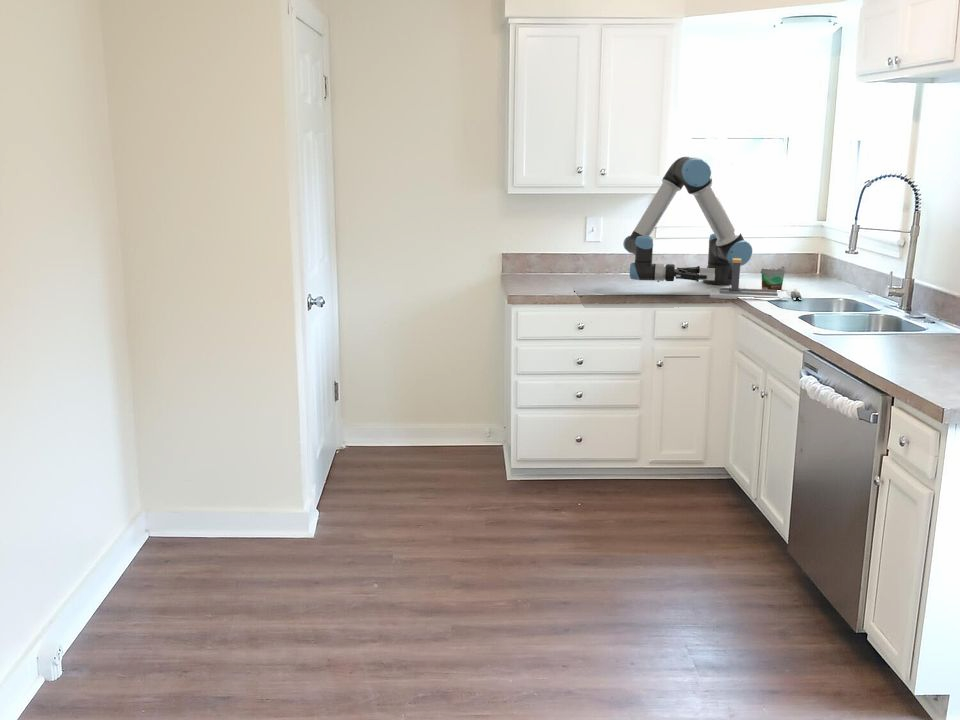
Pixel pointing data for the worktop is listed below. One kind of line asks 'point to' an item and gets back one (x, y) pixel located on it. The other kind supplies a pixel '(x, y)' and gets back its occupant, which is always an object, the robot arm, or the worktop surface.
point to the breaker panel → (746, 293)
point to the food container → (772, 278)
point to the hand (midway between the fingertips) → (714, 274)
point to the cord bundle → (795, 294)
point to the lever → (735, 275)
